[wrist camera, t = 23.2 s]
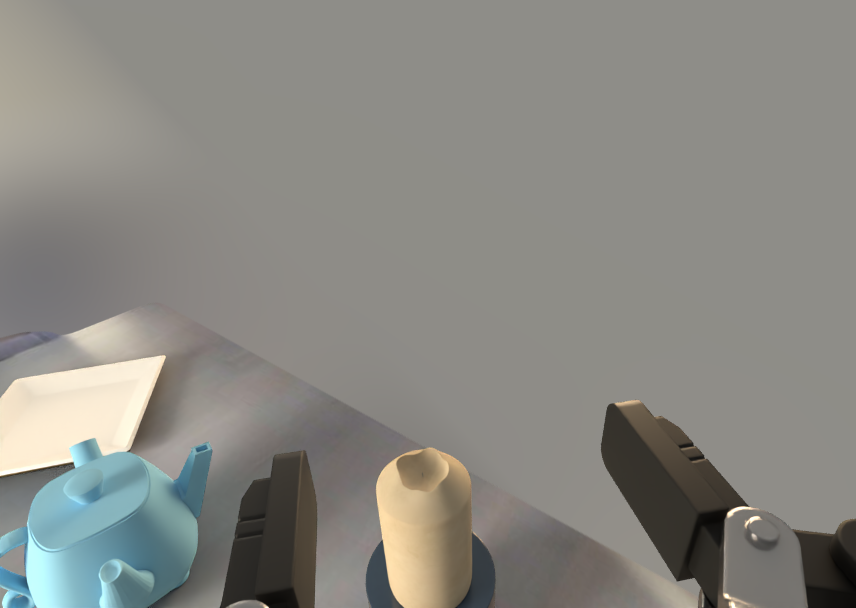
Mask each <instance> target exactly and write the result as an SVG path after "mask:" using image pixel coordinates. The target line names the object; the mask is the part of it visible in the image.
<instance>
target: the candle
mask: <svg viewBox="0 0 856 608" xmlns="http://www.w3.org/2000/svg"><path fill="white" fill-rule="evenodd" d="M376 495H377V502H378V509H379V516H380V523H381V530H382V537H383V544H384V551H385V558H386V565H387V572H388V578H389V583H390V587H391V590H392V592H393V594H394V596H395V598H396V599H397V601H398V602H399V603H400V604H401V605H402V606H403V607H404V608H455V607H457V606H458V605H459V604H460V603H461V602H462V600H463V599H464V598H465V596H466V595H467V592H468V590H469V587H470V584H471V579H472V513H471V480H470V477H469V474H468V472H467V470H466V469H465V467H464V466H463V465H462V464H461V463H460V462H459V461H458V460H457V459H455V458H454V457H452V456H450V455H448V454H446V453H443V452H440V451H438V450H436V449H434V448H426V449H423V450H416V451H411V452H408V453H405V454H403V455H401V456H399V457H397V458H396V459H394V460H393V461H391V462H390V463H389V464H388V465H387V466H386V467H385V468H384V469H383V471H382V472H381V474H380V476H379V478H378V481H377V485H376Z"/></svg>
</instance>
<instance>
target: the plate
mask: <svg viewBox="0 0 856 608" xmlns="http://www.w3.org/2000/svg"><path fill="white" fill-rule="evenodd" d="M165 358H166V356H156V357H150V358H144V359H138V360H132V361H125V362H119V363H113V364H107V365H101V366H95V367H88V368H82V369H76V370H70V371H64V372H58V373H52V374H45V375H39V376H33V377H27V378H21V379H17V380H15V381H14V382H13V383H12V384H11V386H10V387H9V388H8V389H7V391H6V392H5V393H4V394H3V396H2V397H1V398H0V477H6V476H11V475H16V474H21V473H26V472H31V471H37V470H42V469H47V468H52V467H57V466H63V465H68V464H73V463H74V462H73V459H72V456H71V453H70V450H69V448H70V447H71V446H73V445H75V444H78V443H80V442H83V441H85V440H89V439H92V438H95V439H96V441H97V443H98V446H99V448H100V450H101V453H102V455H103V456H106V455H109V454H112V453H116V452H129V451H130V449H131V446H132V444H133V441H134V438H135V436H136V433H137V431H138V428H139V425H140V423H141V420H142V418H143V415H144V412H145V410H146V407H147V405H148V402H149V399H150V397H151V394H152V392H153V389H154V386H155V384H156V381H157V379H158V376H159V374H160V371H161V368H162V366H163V363H164V361H165Z"/></svg>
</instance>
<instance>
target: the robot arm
mask: <svg viewBox="0 0 856 608" xmlns="http://www.w3.org/2000/svg"><path fill="white" fill-rule="evenodd" d="M601 453H602V458H603V461H604V464H605V466H606V468H607V470H608V472H609V473H610V475H611V477H612V478H613V480H614V481H615V483H616V485H617V486H618V488H619V489H620V491H621V492H622V494H623V496H624V497H625V499H626V500H627V502H628V504H629V505H630V507H631V509H632V510H633V512H634V513H635V515H636V517H637V518H638V520H639V521H640V523H641V525H642V526H643V528H644V529H645V531H646V532H647V534H648V536H649V537H650V539H651V540H652V542H653V544H654V545H655V547H656V548H657V550H658V552H659V553H660V555H661V556H662V558H663V560H664V561H665V563H666V564H667V566H668V568H669V569H670V571H671V572H672V574H673V576H674V577H675V578H676V580H677V581H681V580H686V579H692V578H695V579H696V580H697V582H698V584H699V585H700V587H701V590H700V592H699V600H698V608H856V519H850V520H846V521H844V522H842V523H841V524H840V525H839V527H838V529H837V531H836V533H835V534H827V533H817V532H809V531H800V530H794V529H791V528H790V527H789V526H788V525H787V524H786V523H785V522H783V521H782V520H781V519H779V518H778V517H776V516H774V515H773V514H771V513H769V512H766V511H764V510H761V509H757V508H752V507H749V506H748V505H747V504H746V503H745V501H744V500H743V499H742V498H741V497H740V496H739V495H738V494H737V492H736V491H735V490H734V489H733V488H732V487H731V486H730V484H729V483H728V482H727V481H726V480H725V479H724V478H723V476H721V474H720V473H719V472H718V471H717V470H716V468H715V467H714V466H713V465H712V464H711V463H710V462H709V460H708V459H705V458H704V455H703V454H702V452H701V451H700V450H699V449H698V448H697V447H696V446H694V445H693V442H692V441H691V440H690V439H689V438H688V437H687V435H685V433H684V432H683V431H682V430H681V429H680V428H679V427H678V426H676V425H674V424H673V423H671V422H670V421H668V420H667V419H665V418H664V417H662V416H658V417H654V416H653V415H652V414H651V413H650V411H649V410H648V409H647V408H646V407H645V405H644V404H643V403H642V402H641V401H639V400H632V401H626V402H620V403H613V404H609V405H608V407H607V411H606V417H605V424H604V430H603V437H602V443H601ZM316 542H317V502H316V494H315V489H314V485H313V481H312V476H311V472H310V467H309V463H308V459H307V454H306V452H305V450H303V451H297V452H290V453H284V454H277V455H275V456H274V458H273V464H272V471H271V478H265V479H259V480H254V481H253V482H252V484H251V486H250V487H249V489H248V490H247V492H246V493H245V495H244V496H243V498H242V500H241V505H240V511H239V516H238V523H237V526H236V531H235V539H234V541H233V546H232V552H231V557H230V562H229V567H228V572H227V577H226V582H225V588H224V593H223V598H222V602H221V606H220V608H314V605H315V573H316Z"/></svg>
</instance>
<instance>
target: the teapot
mask: <svg viewBox="0 0 856 608" xmlns="http://www.w3.org/2000/svg"><path fill="white" fill-rule="evenodd" d="M191 449H192V451H191V453H190V455H189V457H188V459H187V461H186V463H185V465H184V467H183V469H182V471H181V473H180V475H179V478H178V479H176V480H174V481H173V480H172V479H171V478H169V477H168V476H167V475H166V474H165V473H164V472H162V471H161V470H160V469H158V468H157V467H156V466H154V465H152V464H151V463H149V462H148V461H146V460H144V459H143V458H141V457H139V456H137V455H135V454H133V453H130V452H116V453H112V454H109V455H106V456H103V455H102V453H101V450H100V448H99V446H98V443H97V441H96V439H95V438H92V439H89V440H85V441H83V442H80V443H78V444H75V445H73V446H71V447H70V448H69V450H70V453H71V456H72V459H73V462H74V465H75V469H73V470H71V471H69V472H67V473H65V474H63V475H61V476H59V477H57V478H55V479H53V480H52V481H50V482H49V483H47V484H46V485H45V486H44V487H43V488H42V489H41V490H40V491H39V492H38V493H37V495H36V496H35V498H34V500H33V502H32V505H31V508H30V512H29V518H28V523H27V527H22V528H19V529H16V530H14V531H12V532H9V533H7V534H6V535H4V536H2V537H1V538H0V558H1V557H2V556H3V555H4V554H5V553H7V552H8V551H10V550H12V549H13V548H16V547H18V546H20V545H23V544H25V553H24V561H25V572H26V577H23V576H21V575H18V574H15V573H13V572H10V571H8V570H6V569H4V568H2V567H1V566H0V587H2V588H5V589H7V590H9V591H8V592H7V593H6V594H5V596H4V598H3V604H2V605H3V608H34V607H35V606H36V607H37V608H147V607H148V606H150V605H151V604H153V603H155V602H156V601H157V600H159V599H160V598H162V597H163V596H165V595H166V594H167V593H169V592H170V591H171V590H172V589H175V588H177V587H179V586H181V585H182V584H183V583H184V582H185V581H186V580H187V578H188V576H189V573H190V570H189V569H190V567H191V565H192V563H193V560H194V558H195V555H196V551H197V545H198V527H197V520H196V518H197V517H198V516H200V512H201V507H202V502H203V497H204V492H205V486H206V481H207V476H208V471H209V466H210V461H211V456H212V448H211V446H210V444H209V442H206V443H203V444H201V445H198V446H195V447H192V448H191ZM19 595H24V596H22V597H19V598H16V597H18V596H19Z"/></svg>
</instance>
